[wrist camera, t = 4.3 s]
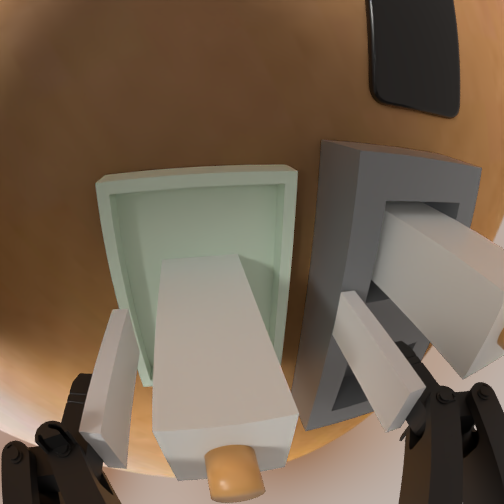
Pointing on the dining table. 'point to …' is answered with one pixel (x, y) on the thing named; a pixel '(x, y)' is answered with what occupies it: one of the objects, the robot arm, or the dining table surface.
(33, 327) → the dining table surface
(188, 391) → the plug
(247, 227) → the tray
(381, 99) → the smartphone
